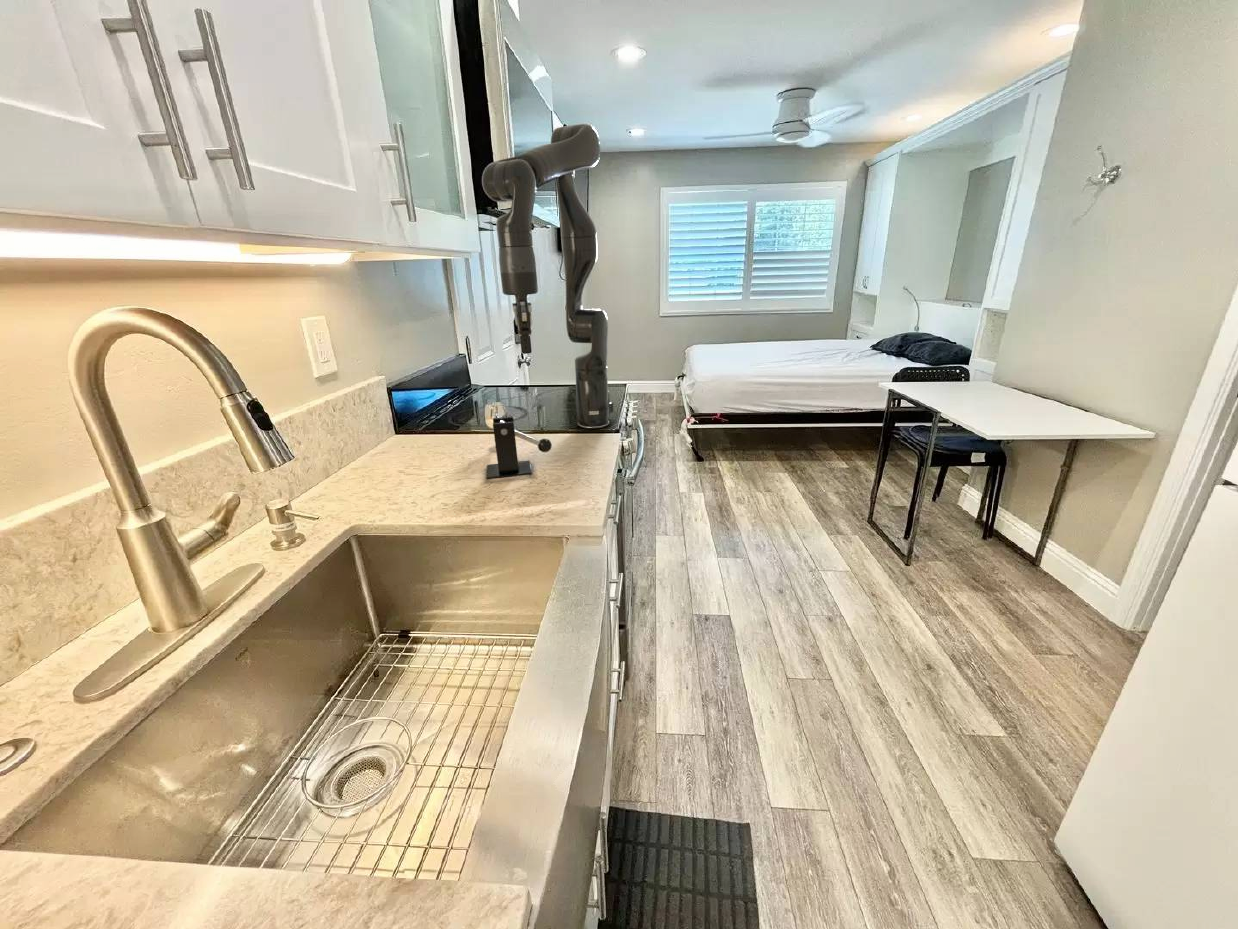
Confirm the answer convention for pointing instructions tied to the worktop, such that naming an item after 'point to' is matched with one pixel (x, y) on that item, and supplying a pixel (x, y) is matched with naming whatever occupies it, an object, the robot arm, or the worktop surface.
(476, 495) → the worktop surface
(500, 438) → the black lever stand
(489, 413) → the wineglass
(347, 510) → the worktop surface
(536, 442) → the tap lever
